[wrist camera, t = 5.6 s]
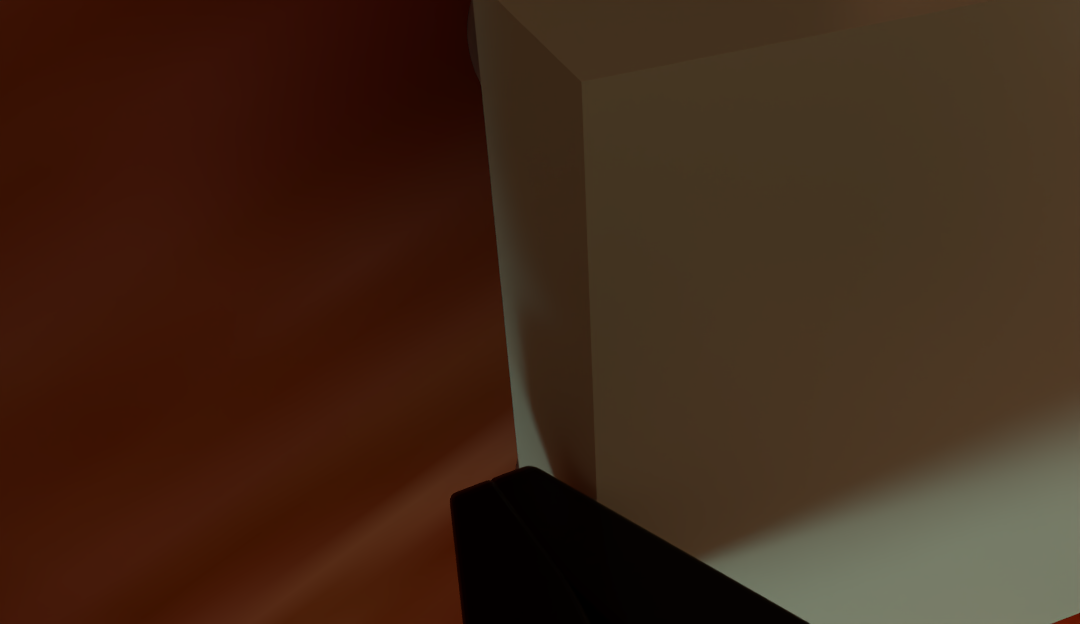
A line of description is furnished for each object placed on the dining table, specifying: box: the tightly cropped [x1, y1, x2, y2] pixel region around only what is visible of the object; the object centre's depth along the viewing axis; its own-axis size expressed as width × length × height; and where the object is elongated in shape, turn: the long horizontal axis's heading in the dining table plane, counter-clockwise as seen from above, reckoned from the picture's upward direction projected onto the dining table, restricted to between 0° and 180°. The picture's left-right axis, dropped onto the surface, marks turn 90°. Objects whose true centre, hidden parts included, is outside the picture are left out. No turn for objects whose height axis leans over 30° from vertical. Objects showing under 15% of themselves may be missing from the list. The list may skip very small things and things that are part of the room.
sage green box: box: [467, 0, 1080, 624], centre depth 11 cm, size 8×10×4 cm
